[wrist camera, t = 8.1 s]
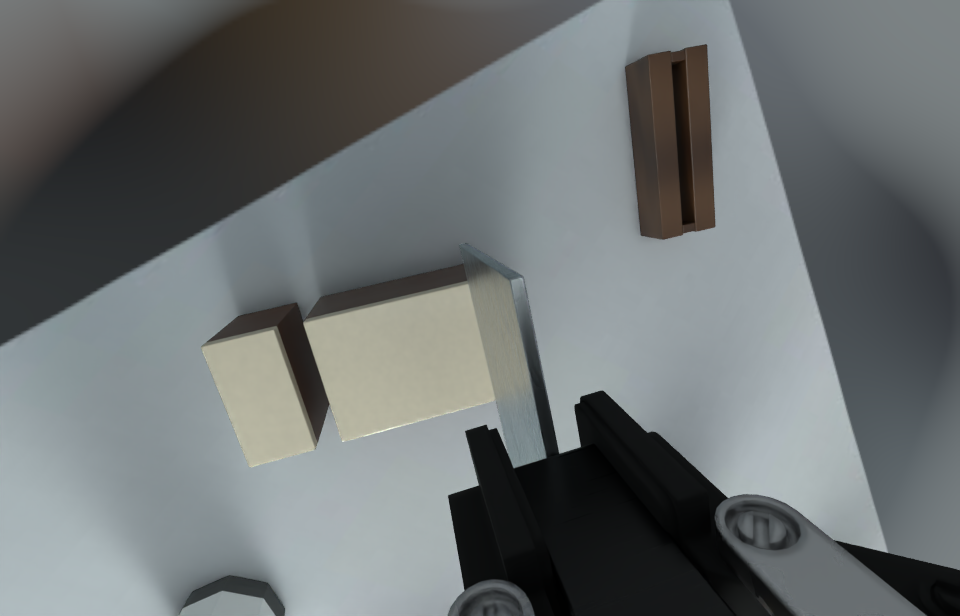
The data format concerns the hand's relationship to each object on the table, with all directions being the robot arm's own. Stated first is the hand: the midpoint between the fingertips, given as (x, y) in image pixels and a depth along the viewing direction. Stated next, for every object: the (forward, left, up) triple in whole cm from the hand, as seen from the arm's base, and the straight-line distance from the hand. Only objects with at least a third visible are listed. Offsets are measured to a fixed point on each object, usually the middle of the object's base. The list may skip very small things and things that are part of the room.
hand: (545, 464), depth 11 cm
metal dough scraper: (0, 0, -7) cm, 7 cm away
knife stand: (-6, +18, -23) cm, 30 cm away
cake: (+3, -3, -23) cm, 24 cm away
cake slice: (+3, -12, -23) cm, 27 cm away
